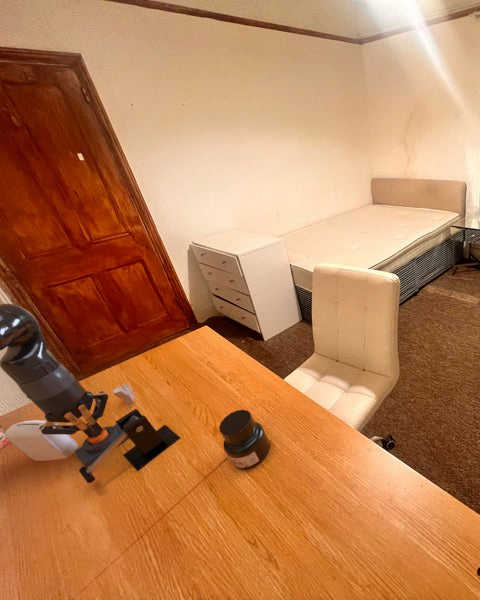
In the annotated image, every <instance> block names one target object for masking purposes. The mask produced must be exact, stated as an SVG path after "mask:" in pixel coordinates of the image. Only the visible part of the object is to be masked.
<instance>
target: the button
mask: <svg viewBox="0 0 480 600" xmlns="http://www.w3.org/2000/svg"><path fill="white" fill-rule="evenodd" d="M93 431H94V430H93ZM94 432H95V431H94ZM100 432H101V434H100V435H98V434H97V433H96V432H95V433H96V434H97V435H98V436H97V437H94V436H93V437H91V438H90V437H88V436H87V438H88V441H89V442H90V443H91V444H92V445H95V444H98V443H100V442H102V441H103V440H105V439H106V438H107V437H108V435H109V433H108V432H107V431H106V430H105V429H104V427H102V431H100Z"/></svg>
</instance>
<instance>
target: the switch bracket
mask: <svg viewBox="0 0 480 600" xmlns="http://www.w3.org/2000/svg"><path fill="white" fill-rule="evenodd" d="M133 415H134V416H136V417H139V418H138V419H137V420H135V421H134V422H132V423H131V424H129V425H128V426H126V427H125V428H124V427H123V425H124V424H125V423H126V422H127V421H128V420H129V419H130V418H131V417H132V416H133ZM116 424H117V425H118V426H119V427H120V428H121V429H122V430H123V431H124V432H125V433H126V434H127V435H128V437H129V439H128V440H130V441H131V442H132V444H133V445H134V446H133V447H132V448H130V449H129V450H127V451H126V452H125V453H123V454H122V456H123V457H124V459H126V460H127V461H128V463H130V465H131V466H132V467H133V468H134V469H135V470H136V471H137V472H139V471H140V470H142V469H143V468H144V467H145V466H147V465H148V464H150V463H151V462H152V461H154V460H155V459H156V458H157V457H158V456H160V455H161V454H162V453H164V452H165V451H166V450H167V449H169V448H170V447H172V446H173V445H174V444H175V443H176V442H177V441H179V440H181V437H180V436H179V435H178V434H177V433H176V432H174V431H173V430H172V429H171V428H170V427H169V426H167V425H166V424H163V425H162V426H161V427H159V428H158V429H156V428H155V427H154V426H153V425H152V423H151V421H149V420H148V418H147V417H146V416H145V415H142V413H141V412H140V411H139V410H138V408H134V409H133V410H131V411H130V412H128V413H127V414H125V415H124V416H122V417H121V418H118V419H117V420H116V421H115V425H116Z"/></svg>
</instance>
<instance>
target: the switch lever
mask: <svg viewBox="0 0 480 600" xmlns="http://www.w3.org/2000/svg"><path fill="white" fill-rule="evenodd" d="M138 418H139V417H136V416H134V415H133V416H132V417H131V418H130V419H129V420H128V421H127V422H126V423H125V424H124V425H123V427H124V428H125V427H126V426H128V425H129V424H131V423H132V422H134V421H135V420H137V419H138ZM127 436H128V435H127V434H126V433H125V432H124V431H123V432H122V433H121V434H120V435H119V436H118V437H117V438H116V439H115V440H114V442H113V443H112V444H111V445H110V446H109V447H108V448H107V449H106V450H105V451H104V452H103V453H102V454H101V455H100V456H99V458H98V459H97V460H96V461H95V462H94V463H93V464H92V465H91V466H89V467H88V468H87V467H86V466H85V465H83V466H82V467H80V468H79V469H78V472H79V473H80V475H81V476H82V477H83V479H84V480H85V482H86V483H87V484H92V483H94V481H95V480H96V477H95V475H94V473H95V472H96V471H97V469H98V468H99V467H100V466H101V465H102V464H103V463H104V462H105V461H106V459H108V458H109V456H110V455H111V454H112V453H113V452H114V451H115V450H116V449H117V448H118V447H119V446H120V445H119V444H120V443H121V442H122V441H123V440H124V439H125V438H126V437H127ZM118 445H119V446H118ZM117 446H118V447H117Z"/></svg>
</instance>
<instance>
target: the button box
mask: <svg viewBox="0 0 480 600" xmlns="http://www.w3.org/2000/svg"><path fill="white" fill-rule="evenodd" d="M103 428H104V429H105V430H106V431H107V432H108V433H109V435H108V437H107V438H106V439H105V440H103V441H102V442H100V443H98V444H95V445H92V444H91V443H90V442H89V441H88V437H87V438H85V439H84V440H83V443H82V446H79V447H78V449H77V450H76V451H74V452H75V453H74V454H75V455H76V456H77V458H78V459H79V460H80V461H81V463H82V464H83V466H86V467H87V468H89V467H90V466H91V465H92V464H93V463H94V462H95V461H96V460H97V459H98V458H99V456H100V455H101V454H102V453H103V452H104V451H105V450H106V449H107V448H108V447H109V446H110V445H111V444H112V443H113V442H114V440H115V439H116V438H117V437H118V436H119V435H120V434H121V433H122V432H123V430H122V429H121V428H120V427H119V426H118V425H117V424H116V423H115V424H114V425H111V426H107V425H106V426H104V427H103ZM128 440H130V439H129V437H128V436H127V437H126V438H125V439H124V440H123V441H122V442H121V443H120V444H119V445H118V446H117V448H119V446H121V445H123V443H125V442H126V441H128Z"/></svg>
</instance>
